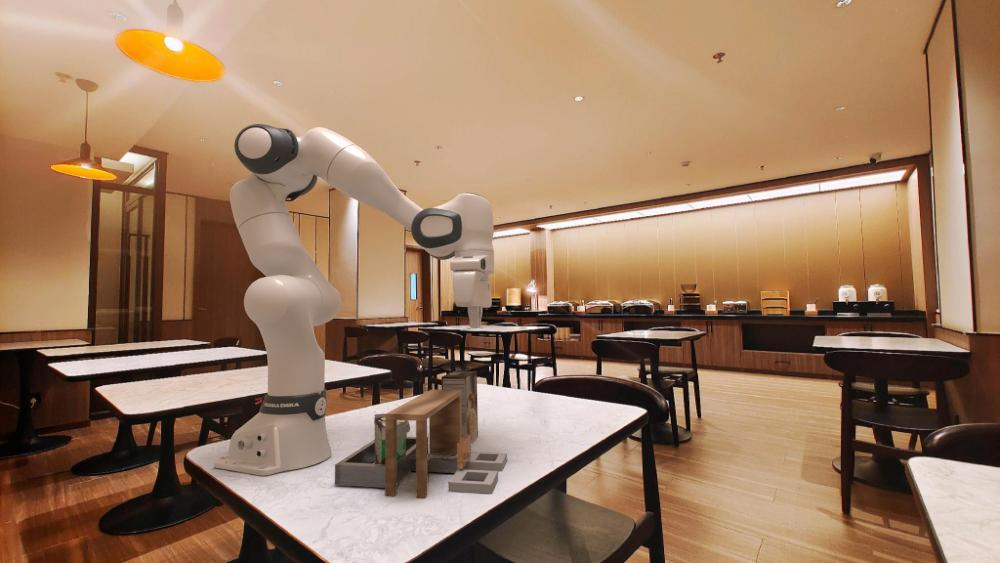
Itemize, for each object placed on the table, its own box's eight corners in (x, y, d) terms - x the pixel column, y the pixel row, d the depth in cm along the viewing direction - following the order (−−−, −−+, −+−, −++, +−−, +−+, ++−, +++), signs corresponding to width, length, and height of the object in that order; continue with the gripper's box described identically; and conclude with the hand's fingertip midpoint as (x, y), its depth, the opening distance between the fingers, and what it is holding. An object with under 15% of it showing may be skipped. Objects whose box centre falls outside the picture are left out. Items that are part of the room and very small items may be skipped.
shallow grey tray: (334, 484, 74) (335, 448, 74) (380, 452, 91) (380, 423, 91) (453, 491, 70) (453, 453, 70) (478, 456, 87) (477, 426, 87)
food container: (416, 479, 76) (416, 424, 77) (381, 486, 73) (382, 428, 74) (404, 458, 87) (404, 410, 88) (373, 463, 85) (374, 413, 85)
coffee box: (453, 435, 103) (453, 370, 104) (478, 436, 102) (477, 370, 103) (441, 447, 94) (440, 376, 95) (468, 448, 93) (467, 376, 94)
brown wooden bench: (385, 495, 69) (385, 413, 70) (431, 451, 91) (431, 389, 92) (424, 498, 68) (424, 414, 69) (462, 453, 90) (461, 390, 91)
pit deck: (448, 491, 70) (448, 482, 71) (471, 458, 86) (471, 451, 86) (491, 493, 69) (491, 484, 69) (507, 460, 85) (506, 452, 85)
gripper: (472, 271, 103) (473, 326, 102) (447, 260, 83) (448, 330, 82) (497, 270, 102) (498, 326, 101) (477, 259, 82) (478, 329, 81)
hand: (475, 328), depth 91 cm, fingers closed
